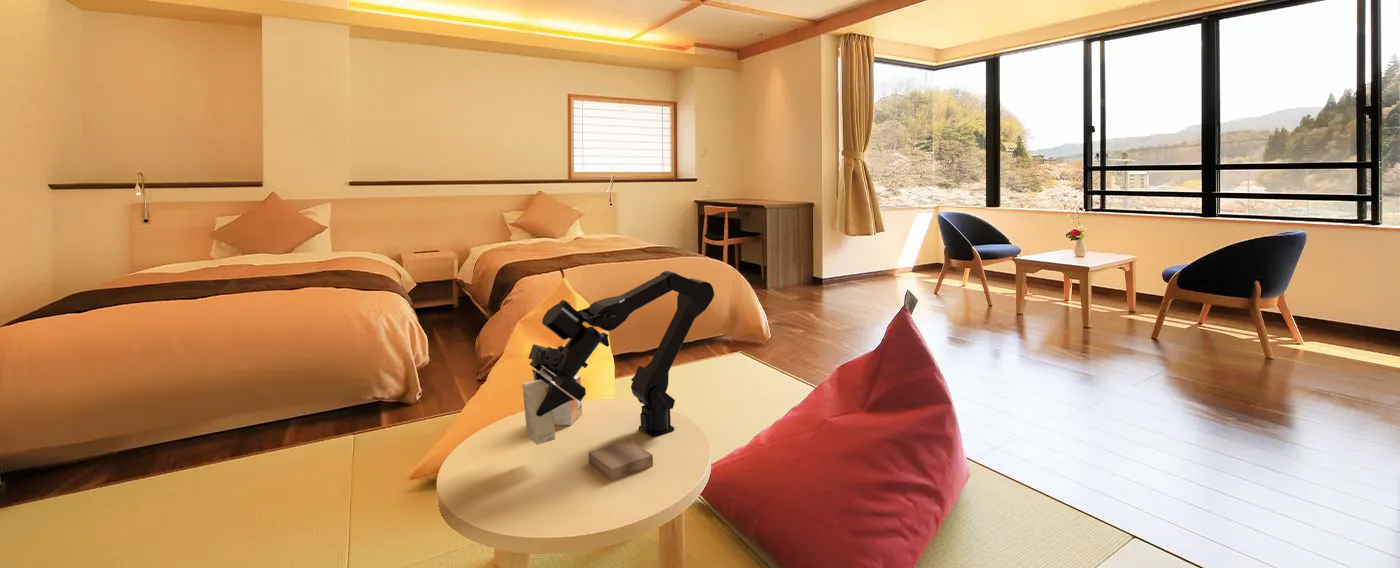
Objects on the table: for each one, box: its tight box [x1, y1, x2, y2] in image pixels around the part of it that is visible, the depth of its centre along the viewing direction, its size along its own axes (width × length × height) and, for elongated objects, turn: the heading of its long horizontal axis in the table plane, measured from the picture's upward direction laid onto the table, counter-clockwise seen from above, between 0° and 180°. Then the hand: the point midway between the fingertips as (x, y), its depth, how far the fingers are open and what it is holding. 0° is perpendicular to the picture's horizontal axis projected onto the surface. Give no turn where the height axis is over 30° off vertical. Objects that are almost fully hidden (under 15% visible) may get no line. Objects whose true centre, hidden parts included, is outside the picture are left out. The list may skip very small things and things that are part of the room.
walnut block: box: [587, 439, 654, 482], centre depth 137 cm, size 10×10×3 cm
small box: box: [551, 374, 583, 426], centre depth 160 cm, size 8×6×10 cm
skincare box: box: [521, 379, 556, 445], centre depth 136 cm, size 6×4×12 cm
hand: (532, 410), depth 135 cm, fingers closed on skincare box, 6 cm apart
